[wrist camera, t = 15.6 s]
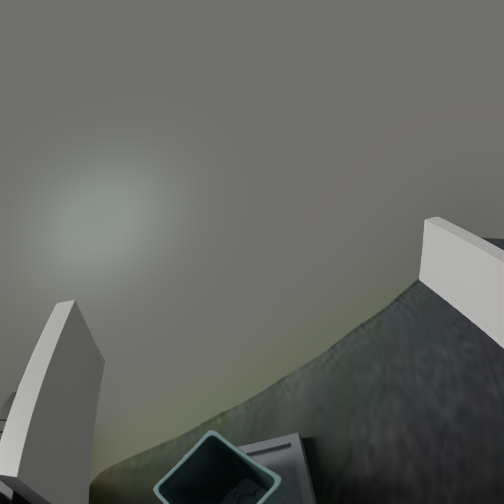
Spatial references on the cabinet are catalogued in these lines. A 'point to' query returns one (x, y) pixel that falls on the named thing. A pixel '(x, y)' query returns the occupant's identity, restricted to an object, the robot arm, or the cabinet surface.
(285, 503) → the plant tray
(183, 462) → the flower pot
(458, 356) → the cabinet surface
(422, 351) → the cabinet surface
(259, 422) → the cabinet surface
